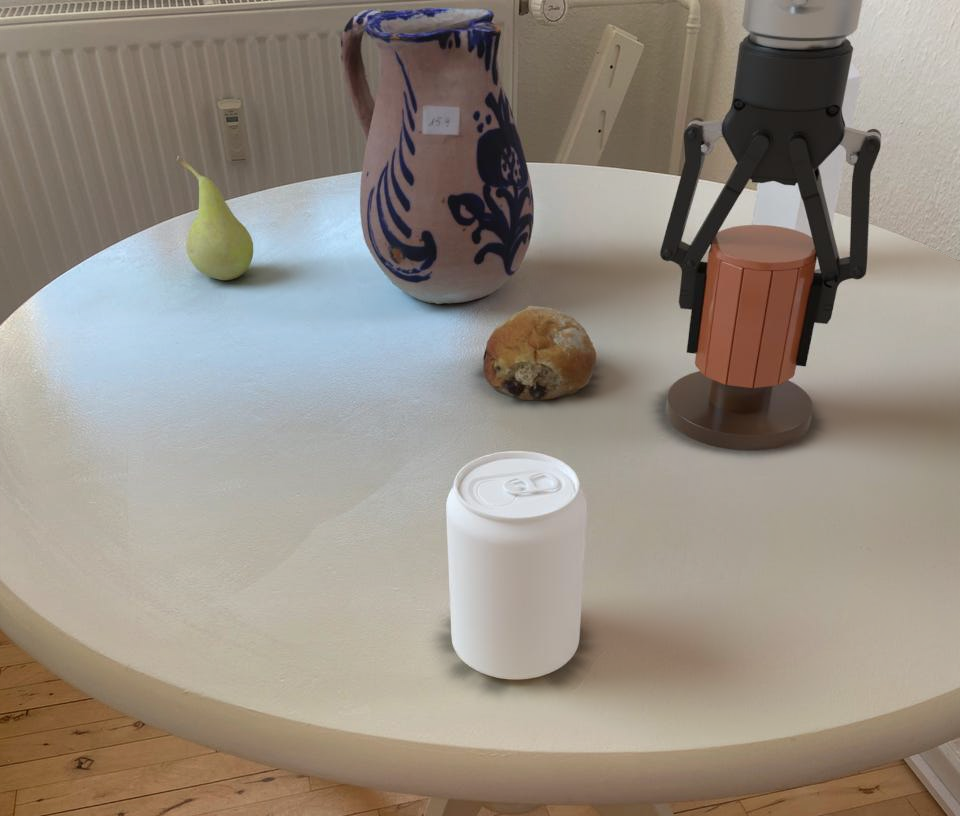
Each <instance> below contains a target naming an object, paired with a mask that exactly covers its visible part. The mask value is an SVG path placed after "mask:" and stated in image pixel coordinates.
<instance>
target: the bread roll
mask: <svg viewBox="0 0 960 816" xmlns="http://www.w3.org/2000/svg"><path fill="white" fill-rule="evenodd" d="M596 362H597V352H596V349H595V347H594V343H593V342H592V340H591V338H590V336H589V334H588V333H587V331H586V330H585V328H584V327H583V325H582V324H581V323H579V321H577V320H576V319H575V318H574V317H573V316H571V315H570V314H568V313H567V312H564V311H562V310H560V309H558V308H557V309H556V308H553V307H546V306H538V305H528V306H527V307H525V308H524V309H523V310H519V311H518V312H516V313H514V314H512V315H511V316H509V317H508V318H507V319H506V320H504V322H503V323H502V324H500V325H498V326H497V327H495V328H494V330H493V331H492V333H491V335H490V336H489V338H488V340H487V341H486V346H485V350H484V354H483V374H484V377H485V379H486V382H487V383H488V384H489V385H490V386H491V388H493V390H495V391H496V392H498V393H500V394H504V395H506V396H509V397H510V398H513V399H518V400H521V401H541V400H542V401H543V400H544V401H545V400H554V399H558V398H561V397H566V396H571V395H575V394H577V393H578V392H579V390H582V389H583V388H585V387H586V386H587V385H588V384H589V383H590V380H591V379H592V376H593V373H594V369H595V366H596Z"/></svg>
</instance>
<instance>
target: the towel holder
mask: <svg viewBox="0 0 960 816" xmlns="http://www.w3.org/2000/svg"><path fill="white" fill-rule="evenodd" d="M813 411H814V404H813V401H812V398H811V397H810V395H809V394H808V393H807V391H806V390H804V389H803V388H802V387H800V386H799V385H798V384H797V383H795V382H793V381H791V380H790V379H789V380H787V381H785V382H783V383H782V384H780V385H778V384H777V385H776V386H769V387H761V388H754V387H752V388H746V387H737V386H729V385H727V384H726V385H724V384H722V383H719V382H717V381H714V380H712V379H710V378H707V377H706V376H704V375H703V374H702V373H701V372H700V370H698V371H694V372H690V373H689V374H686V375H684V376H682V377H680V378H679V379H677V380H676V381H675V382H673V383H672V384H671V386H670V388H669V390H668V391H667V397H666V405H665V416H666V418H667V420H668V422H669V424H670V425H671V426H672V427H673V428H674V429H675V430H677V431H678V432H679V433H680V434H682V435H684V436H686V437H687V438H689V439H691V440H693V441H697V442H698V443H701V444H704V445H707V446H710V447H714V448H719V449H725V450H731V451H732V450H733V451H748V452H749V451H766V450H772V449H777V448H781V447H784V446H787V445H790V444H792V443H794V442H797V441H798V440H799V439H801V438H802V437H804V435H805V434H807V432H808V430H809V428H810V425H811V420H812V415H813Z"/></svg>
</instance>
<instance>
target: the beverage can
mask: <svg viewBox="0 0 960 816" xmlns="http://www.w3.org/2000/svg"><path fill="white" fill-rule="evenodd" d="M448 493H449V494H447V495H448V496H447V499H446V503H445V505H446V506H445V515H446V539H447V563H448V565H447V566H448V584H449V585H448V586H449V607H450V608H449V609H450V611H449V612H450V633H451V644H452V647H453V649H454V652H455V653H456V654H457V656H458V657H459V658H460V659H461V661H462V662H464V663H465V664H466V665H467V666H468V667H470V668H471V669H473V670H474V671H477V672H478V673H481V674H484V675H485V676H490V677H493V678H498V679H502V680H504V679H505V680H529V679H534V678H539V677H542V676H545V675H548V674H551V673H552V672H553V673H554V672H555V671H557V670H559V669H561V668H562V667H563V666H565V665H566V664H567V663H568V662H569V661H570V660H571V659H572V658H573V657H574V655H575V654H576V652H577V650H578V648H579V644H580V638H581V637H580V636H581V635H580V634H581V620H582V619H581V618H582V604H583V602H582V601H583V584H584V571H585V570H584V569H585V551H586V535H587V519H588V501H587V497H586V495H585V492H584V490H583V488H582V487H581V483H580V478H579V476H578V475H577V473H576V471H575V470H574V469H573V468H572V467H571V466H570V465H568V464H567V463H566V462H564V461H562V460H561V459H559V458H555V457H554V456H551V455H548V454H544V453H540V452H535V451H526V450H525V451H524V450H509V451H500V452H494V453H490V454H486V455H483V456H480V457H477V458H475V459H472V460H471V461H469V462H468V463H466V464H465V465H464V466H463V467H461V469H459V471H458V472H457V474H456V476H455V478H454V481H453V485H452V487H451V489H450V491H449V492H448Z"/></svg>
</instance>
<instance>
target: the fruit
mask: <svg viewBox="0 0 960 816" xmlns="http://www.w3.org/2000/svg"><path fill="white" fill-rule="evenodd" d="M176 162H177V163H179V164H180V165H182V166H183V167H185V169H187V170H189V171H190V172H191V173H192V174H193V176H195V177H196V179H197V181H198V212H197V215H196V217H195V219H194V221H193V222H192V224H191V225H190V227H189V229H188V232H187V235H186V239H185V240H186V242H185V243H186V244H185V248H186V254H187V256H188V258H189V260H190V262H191V264H192V265H193V266H194V267H195V269H196V270H197V271H198V272H200V273H201V274H203V275H205V276H207V277H209V278H212V279H216V280H219V281H231V280H235V279H237V278H239V277H241V276H242V275H244V274H245V272H246V271H248V269H249V268H250V265H251V263H252V260H253V257H254V242H253V239H252V236H251V234H250V232H249V231H248V229H247V228H246V227H245V226H244V224H243V223H241V222H240V220H239V219H238V218H237V217H236V215H234V213H233V212H232V210H231V209H230V207H229V205H228V203H227V201H226V200H225V198H224V197H223V194H222V193H221V191H220V190H219V188H218V187H217V185H216V184H215V182H213V180H211V179H210V178H208V177H206V176H204V175H201V174H200V173H199V172H197V170H196V169H194V168H193V167H192V166H191V165H190V164H189V163H188V162H187V161H186V160H185V159H183V157H182V156H180V155H177V158H176Z"/></svg>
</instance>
